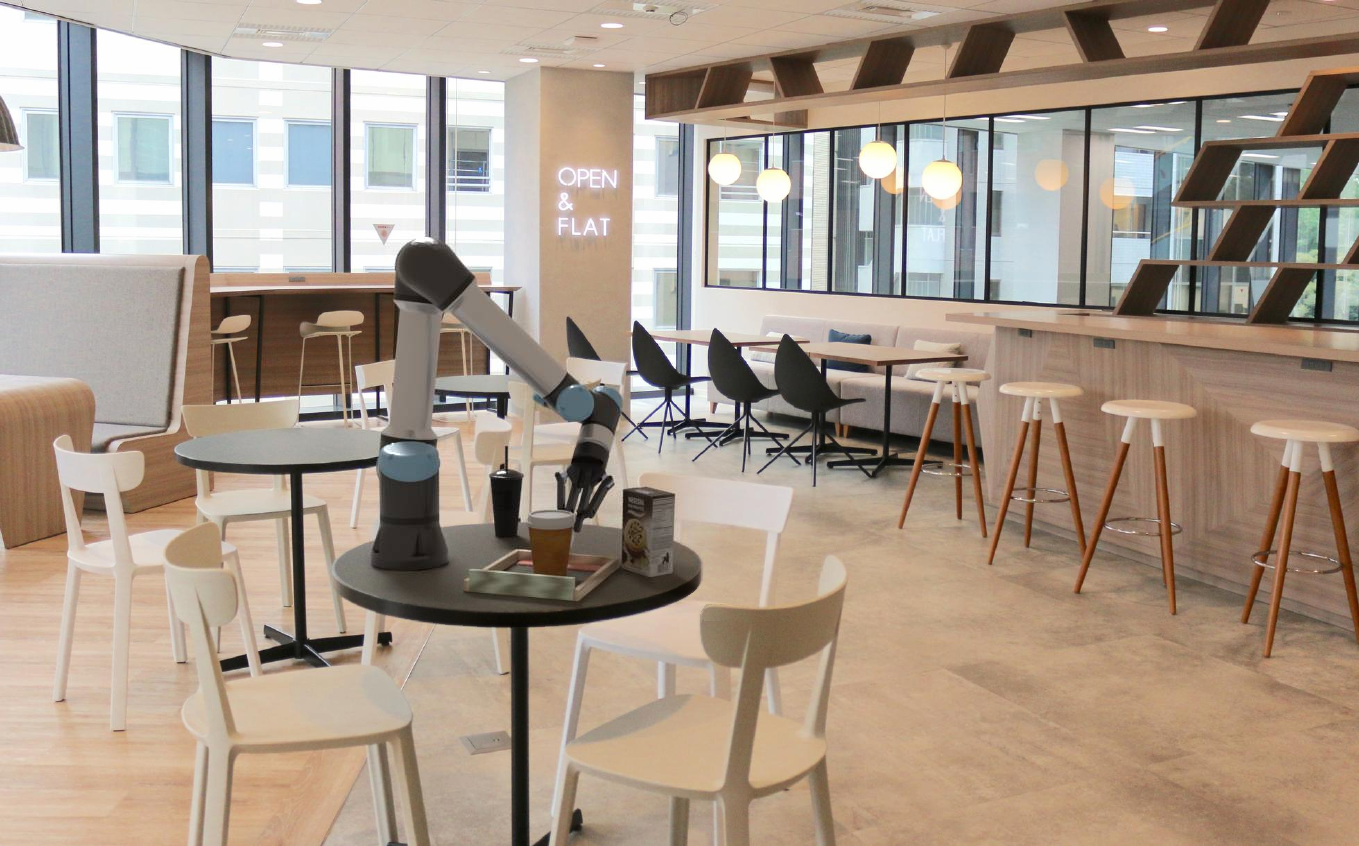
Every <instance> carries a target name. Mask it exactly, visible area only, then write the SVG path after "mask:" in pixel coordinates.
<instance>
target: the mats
mask: <svg viewBox="0 0 1359 846" xmlns="http://www.w3.org/2000/svg"><path fill="white" fill-rule="evenodd" d="M516 565H517V566H528V567H533V561H532V560H526V559H523V560H519V561H517V563H516ZM601 567H603V566H601V565H588V564H576V563H569V564H568V567H567V570H577V571H587V572H588V571H590V572H592V571H593V572H596V571H598V570H599V569H600V568H601Z"/></svg>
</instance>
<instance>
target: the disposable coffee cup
mask: <svg viewBox="0 0 1359 846" xmlns="http://www.w3.org/2000/svg"><path fill="white" fill-rule="evenodd" d="M575 521H576V520H575V519H574V516H573V513H571V512H568V511H563V510H557V509H541V510H534V511H531V512H529V513H528V516H527V518H526V520H525V523H526V524H527V527H528V534H529V535H528V536H529V544H530V550H531V553H532V561H533V566H532V569H533V574H540V575H552V576H564V577H567V574H568V573H567V572H568V569H567V567H568V560H569V553H570V551H571V548H570V545H571V537H572V530H573V526H574V523H575Z"/></svg>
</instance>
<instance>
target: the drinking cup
mask: <svg viewBox="0 0 1359 846" xmlns="http://www.w3.org/2000/svg"><path fill="white" fill-rule="evenodd" d="M524 476H525V475H524V474H523V473H522V472H520V471H518V470H515V469H513V468H509V446H508V445H505V446H504V468H502V469H498V470H496V471H494V472H491V473H489V475H488V478H489V479H490V480H489V481H490V490H491V491H490V492H491V502H492V515H493V522H494V523H493V524H494V535H495V537H498V538H513V537H517V536H518V530H519V528H518V527H519V519H520V508H521V499H522V498H521V497H522V488H523V478H524Z"/></svg>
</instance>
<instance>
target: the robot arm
mask: <svg viewBox="0 0 1359 846" xmlns="http://www.w3.org/2000/svg"><path fill="white" fill-rule="evenodd" d="M394 271H395V279H394V290H393V299H392V300H393V303H395V305H396V306H397V308H398V309H399V315H398V317H399V318H398V329H397V337H396V338H397V339H396V348H395V349H396V350H395V360H394V372H393V382H392V392H391V393H392V394H391V403H390V413H389V414H390V415H389V424H388V425H387V426H386V427H384V428H383V429H382V430H381V431H380V438H379V440H380V441H379V449H378V450H379V451H378V457H377V459H376V463H375V464H376V466H375V467H376V468H375V469H376V476H377V477H378V484H379V486H378V488H379V491H378V492H379V527H378V529H377V533H376V535H375V539H374V541H373V545H372V548H371V552H370V563H371V565H372V566H374V567H377V568H380V569H383V570H390V571H391V570H393V571H417V570H428V569H432V568H437V567H438V568H439V567H441V566H443V565H445V564H447V563H448V562H449V547H448V544H447V542H446V538H445V536H444V532H443V529H442V527H441V523H440V467H441V459H440V455H439V454H440V452H439V451H438V448H437V447H438V439H439V438H438V437H439V436H438V435H437V434H436V432H434V430H433V428H432V424H433V423H432V422H433V412H434V402H435V391H436V380H437V371H438V369H437V368H438V361H439V349H440V340H441V339H440V338H441V332H442V331H441V329H442V322H443V321H442V318H443V314H444V313H445V314H446V313H447V314H452V316H453V317H454V318H456V320H458V322H460V324H462V325H463V327H465V328H466V329H467V330H468V331H470V332H471V334H473V335H474V336H475V337H476V338H477V340H479V341H480V342H481V343H483V344H484V346H486V347H487V348H488V349H489V350H490V351H491V353H493V354H494V355H495V356H496V357H497V358H498V359H499V360H500V361H501V362H502V363H504V364H505V366H507V367H508V368H509V369H510V370H511V371H512V372H513V373H515V374H516V375H517V376H518V377H519V378H520V380H522V381H523V382H524V383H525V384H526V385H527V386H528V387H529V388H530V389H532V390H533V392H532V400H533V402H535V403H536V404H539V405H540V406H542V407H543V408H547V409H548V410H550V411H552V412H554V413H555V414H557V415H559V416H560V417H561V418H562V419H563V420H564V421H566V422H573V423H578V424H581V425H580V429H579V433H578V437H577V439H576V443H575V447H574V450H573V454H572V457H571V461H570V464H569V465H568V467H566V471H563V472H561V473H560V471H556V472H555V473H554V477H555V481H556V483H557V484H556V485H557V486H556V489H557V490H556V510H563V511H568V512H571V513H573V516H574V519H575V520H576V521H575V523H574V526H573V530H572V537H571V545H570V549H572V548H573V544H574V540H575V536H576V533H577V534H579V533H580V532H581V531H582V526H583V524H584V521H585V520H586V519H589V520H592V519H593V518H594V517H595V516H596V513H597V512H598V510H599V508H600V506H601V504H602V503H603V501H604V499H605V497H606V495H607V494H608V492H609V491H610V490H611V489H612V488H613V487H614V486H615V481H614V478H613V476H612V475H610V474H609V475H608V474H607V471H606V470H607V466H608V463H609V458H610V454H611V451H612V447H613V445H614V444H613V443H614V439H615V434H616V431H617V428H618V424H619V422H620V418H621V416H622V409H623V402H624V400H623V396H622V395H621V393H620V392H619V391H618V390H617V389H615V388H614V387H611V386H608V387H607V386H605V385H600V386H595V387H593V389H592V390H591V389H588V388H587V387H586V386H584V385H582V384H581V383H580V382H579V381H578V380H577V379H576V378H575V377H574V376H572V375H571V374H570V373H569V372H568V371H567V370H566V368H564V367H563V366H562V365H561V364H560V363H559V362H558V361H557V360H556V359H555V358H554V357H553V356H552V355H551V354H550V353H549V352H547V350H546V349H544V347H542V346H541V345H540V344H539V343H538V342H537V341H536V340H535V339H534V337H532V336H531V335H530V334H529V333H527V332H526V330H524V329H523V327H522V326H520V325H519V324H518V323H517V321H515V320H514V319H513V318H512V317H511V316H510V315H509V313H507V312H506V311H505V310H503V308H502V307H501V306H499V304H497V303H496V302H495V301H494V300H493V299H492V298H491V297H490V296H489V295H488V294H487V293H486V292H485V291H484V290H483V289H482V288H481V287H480V286H479V285H478V283H477V282H478V281H477V279H478V278H477V276H476V275H474V274H473V273H472V272H471V270H469V269H468V267H467V266H466V265H465V264H464V263H463V262H462V260H461V259H460V258H459V257H458V256H457V254H456V253H455V252H454V251H453V249H452V248H451V246H449V245H448V244H447V243H446V242H444V241H443V240H440V239H439V238H435V237H429V236H427V237H426V236H424V237H423V236H422V237H419V238H415V239H412V240H410V241H407V243H405V244H404V245H403V246H402V247H401V248H400V250H399V251H398V253H397V254H396V257H395V263H394ZM568 478H569V480H570V482H571V488H570V490H569V494H568V498H567V501H566V484H567V481H568ZM599 483H600V484H599ZM598 484H599V485H598ZM596 486H598V487H597V488H596V490H595V492H594V489H595V487H596ZM593 492H594V493H593ZM592 495H593V496H592ZM591 496H592V498H591ZM579 497H580V499H579ZM578 500H579V502H578ZM577 504H578V505H577ZM576 507H577V509H576ZM575 511H576V513H575Z"/></svg>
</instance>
